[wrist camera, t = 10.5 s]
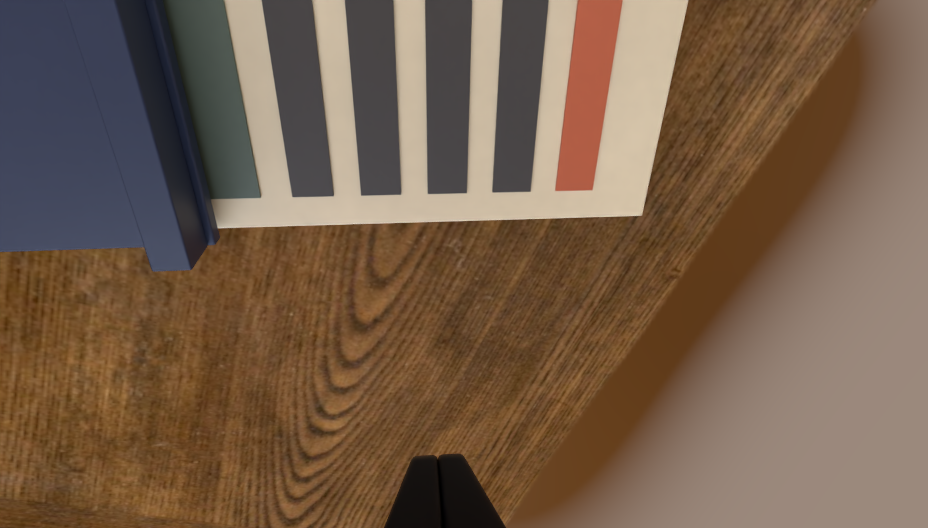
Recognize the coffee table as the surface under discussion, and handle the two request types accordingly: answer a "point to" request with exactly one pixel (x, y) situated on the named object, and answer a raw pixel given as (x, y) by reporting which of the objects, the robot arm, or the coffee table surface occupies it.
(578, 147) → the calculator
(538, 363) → the coffee table surface
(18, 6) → the cover
